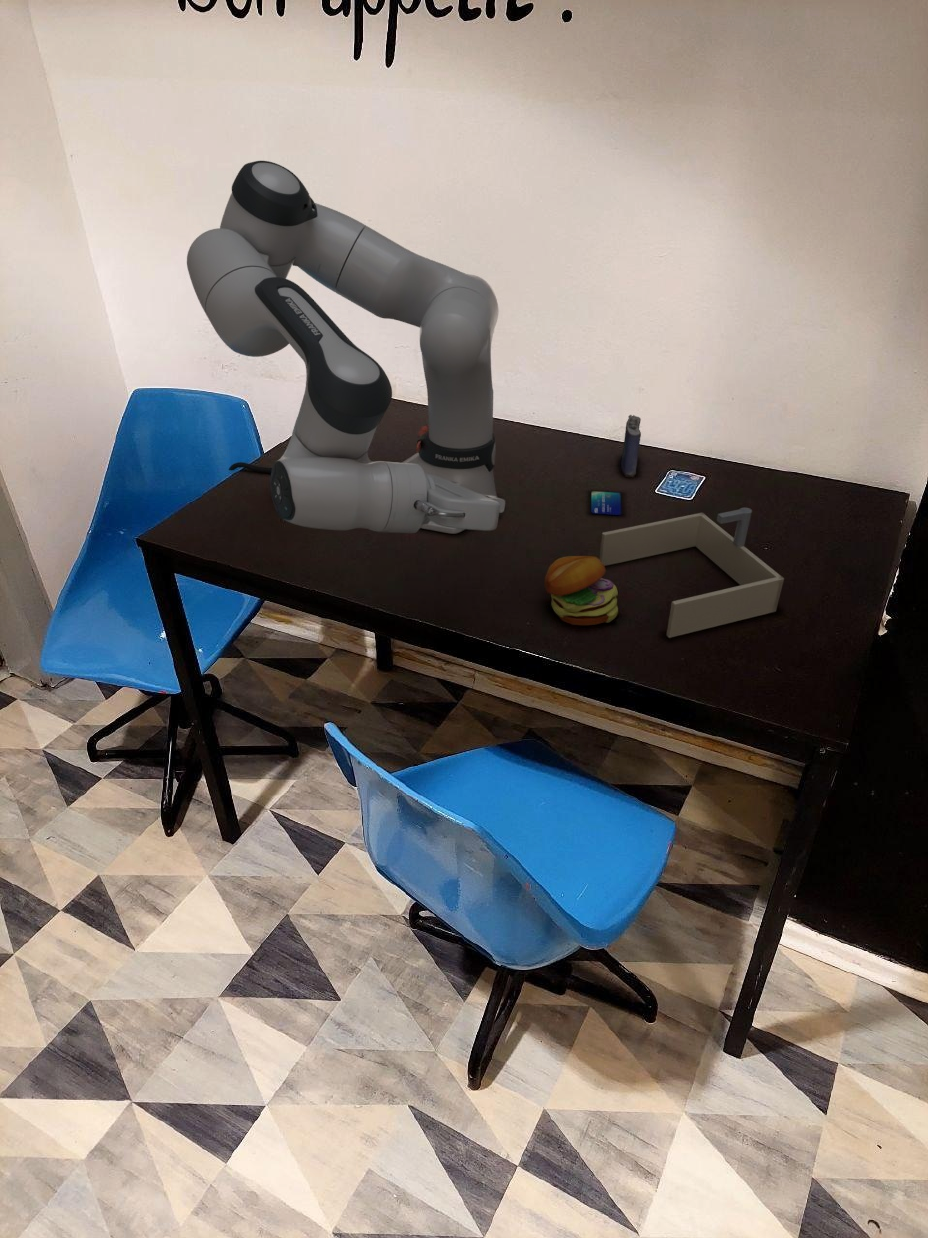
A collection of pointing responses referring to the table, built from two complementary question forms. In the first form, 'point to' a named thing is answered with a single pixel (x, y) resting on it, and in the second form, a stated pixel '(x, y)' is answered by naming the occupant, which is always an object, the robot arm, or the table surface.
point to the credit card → (605, 503)
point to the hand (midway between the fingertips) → (500, 504)
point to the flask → (631, 446)
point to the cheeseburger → (581, 591)
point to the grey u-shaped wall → (716, 544)
